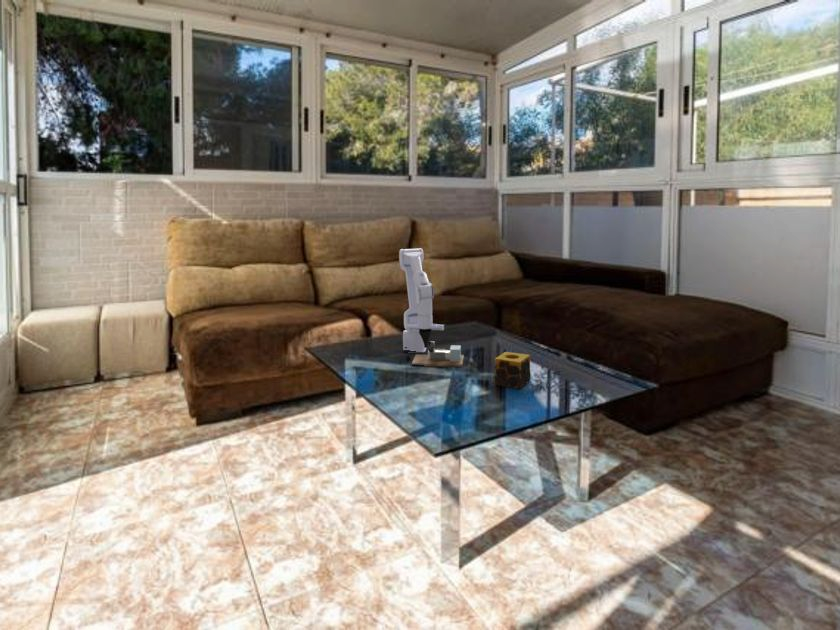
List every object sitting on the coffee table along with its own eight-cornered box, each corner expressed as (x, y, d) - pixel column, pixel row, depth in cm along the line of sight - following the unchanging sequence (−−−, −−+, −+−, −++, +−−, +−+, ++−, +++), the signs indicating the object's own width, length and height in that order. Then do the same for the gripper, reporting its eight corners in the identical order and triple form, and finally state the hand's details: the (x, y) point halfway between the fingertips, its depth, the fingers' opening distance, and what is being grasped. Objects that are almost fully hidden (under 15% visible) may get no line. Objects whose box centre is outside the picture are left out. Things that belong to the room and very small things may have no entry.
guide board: (411, 365, 223) (411, 363, 223) (416, 356, 234) (415, 354, 234) (462, 366, 220) (462, 364, 220) (463, 357, 232) (463, 355, 231)
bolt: (428, 359, 226) (427, 342, 224) (428, 357, 229) (428, 340, 227) (457, 359, 224) (457, 342, 223) (458, 357, 227) (458, 340, 226)
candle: (520, 390, 193) (520, 362, 191) (493, 385, 199) (493, 358, 196) (531, 381, 202) (531, 354, 200) (505, 377, 207) (505, 351, 205)
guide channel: (430, 360, 225) (430, 352, 224) (431, 357, 230) (431, 348, 229) (445, 361, 224) (445, 352, 224) (446, 357, 229) (446, 349, 228)
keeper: (450, 361, 223) (449, 349, 222) (451, 357, 229) (451, 345, 228) (460, 361, 223) (459, 349, 222) (460, 357, 229) (460, 345, 228)
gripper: (405, 316, 221) (406, 349, 224) (442, 316, 219) (443, 350, 222) (408, 312, 227) (409, 344, 230) (444, 312, 225) (444, 345, 229)
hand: (426, 347), depth 227 cm, fingers closed
